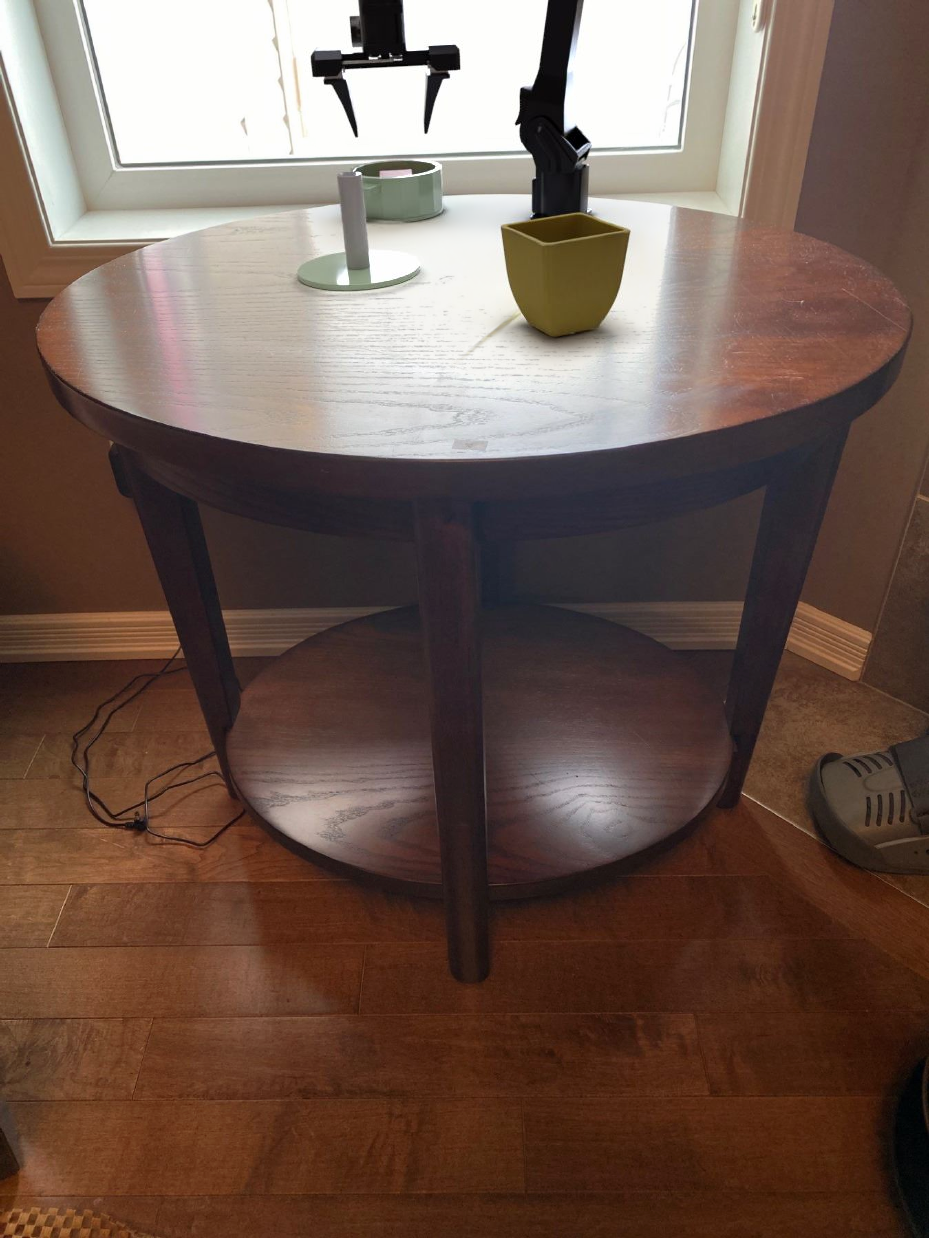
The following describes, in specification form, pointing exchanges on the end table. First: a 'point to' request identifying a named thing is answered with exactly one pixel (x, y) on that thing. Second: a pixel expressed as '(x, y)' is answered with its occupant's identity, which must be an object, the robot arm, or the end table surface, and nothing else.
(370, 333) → the end table surface
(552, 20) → the robot arm
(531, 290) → the flower pot
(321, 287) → the lid
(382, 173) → the block
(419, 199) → the pot
